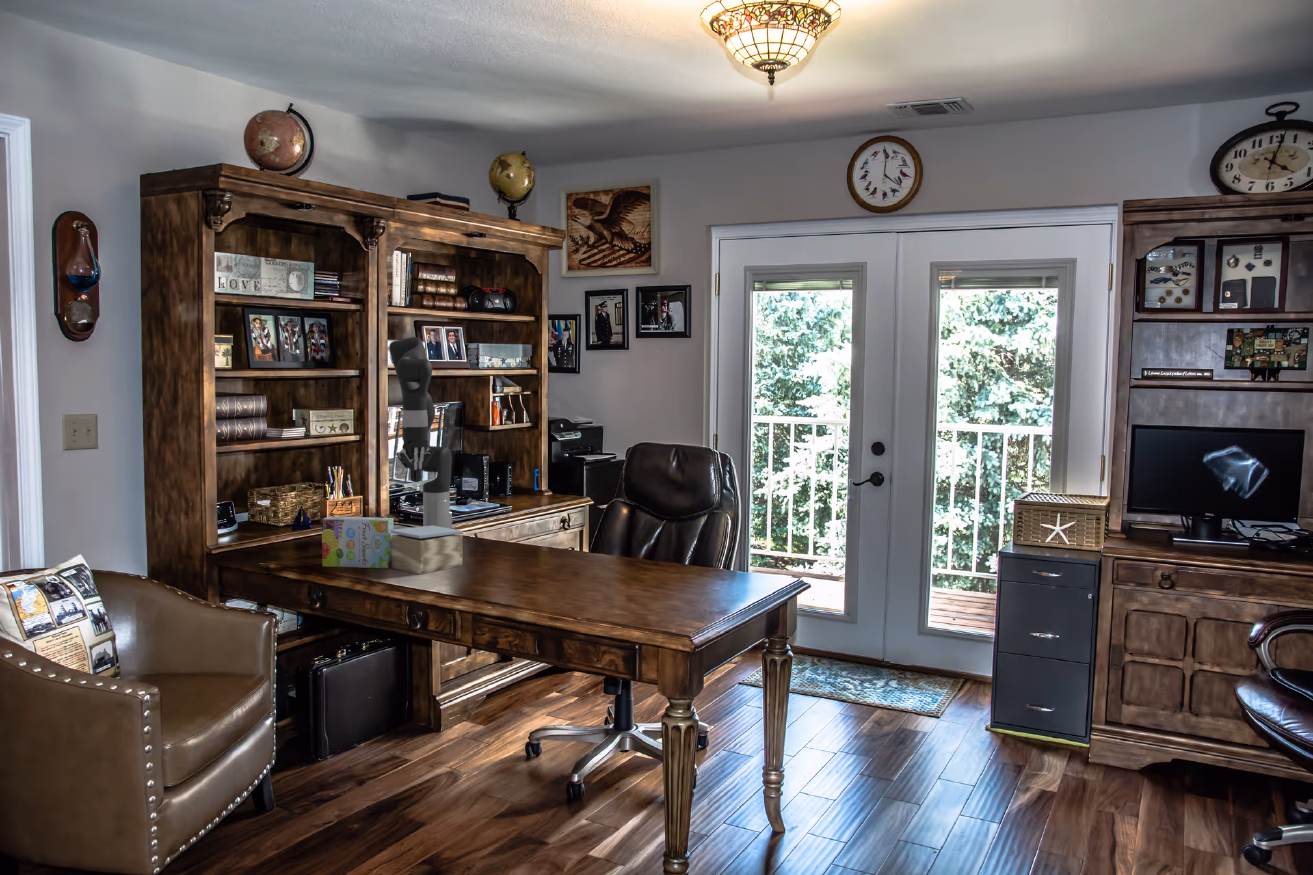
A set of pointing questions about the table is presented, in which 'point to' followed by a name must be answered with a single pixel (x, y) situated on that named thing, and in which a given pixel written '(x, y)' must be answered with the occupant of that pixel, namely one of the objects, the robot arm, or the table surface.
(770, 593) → the table surface
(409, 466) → the robot arm
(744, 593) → the table surface
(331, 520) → the snack box
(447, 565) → the wooden box
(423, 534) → the lid
